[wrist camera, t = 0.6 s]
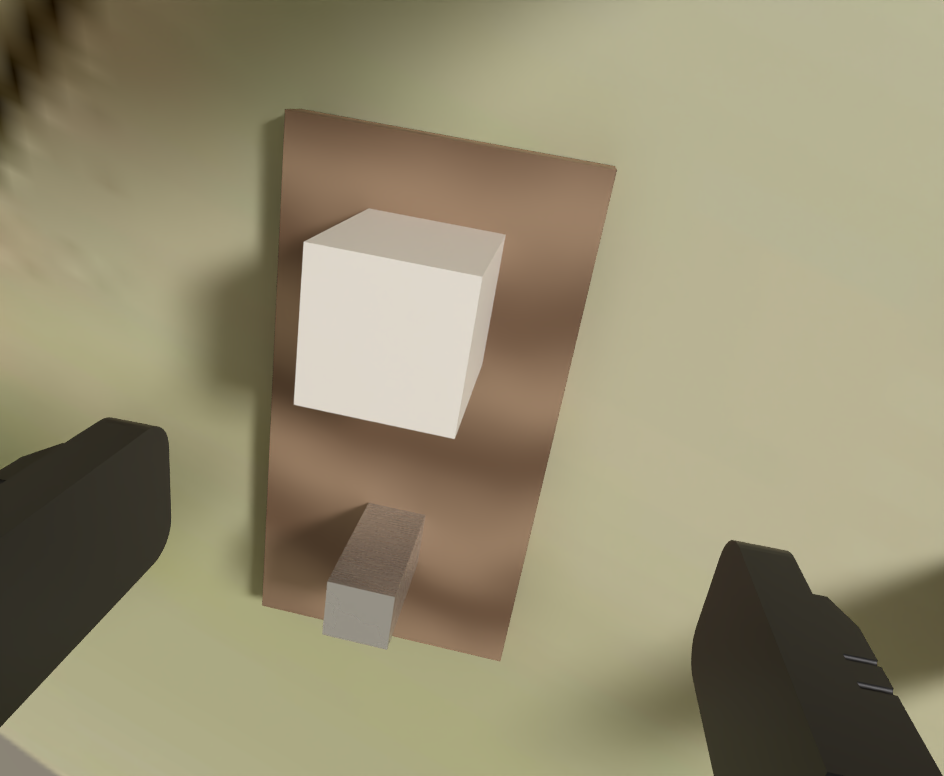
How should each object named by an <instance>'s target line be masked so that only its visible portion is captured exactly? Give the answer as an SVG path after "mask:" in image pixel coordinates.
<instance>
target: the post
mask: <svg viewBox="0 0 944 776" xmlns="http://www.w3.org/2000/svg"><path fill="white" fill-rule="evenodd" d="M424 521H425V515H423V514H418V513H414V512H409V511H405V510H400V509H396V508H391V507H386V506H382V505H377V504H373V503H368V505H367V507H366V509H365V511H364V513H363V514H362V516H361V518H360V520H359V522H358V524H357V526H356V528H355V530H354V532H353V534H352V535H351V537H350V539H349V541H348V543H347V545H346V547H345V549H344V551H343V553H342V555H341V556H340V558H339V560H338V562H337V564H336V566H335V568H334V570H333V572H332V574H331V575H330V577H329V579H328V581H327V590H326V601H325V612H324V622H323V633H322V634H323V635H328V636H332V637H336V638H340V639H345V640H349V641H353V642H357V643H361V644H366V645H370V646H374V647H378V648H383V649H388V646H389V643H390V640H391V637H392V634H393V632H394V629H395V626H396V623H397V620H398V617H399V615H400V612H401V609H402V606H403V603H404V600H405V597H406V595H407V592H408V589H409V586H410V583H411V580H412V577H413V575H414V572H415V569H416V566H417V563H418V558H419V552H420V546H421V539H422V533H423V527H424Z"/></svg>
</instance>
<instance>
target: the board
mask: <svg viewBox="0 0 944 776" xmlns="http://www.w3.org/2000/svg"><path fill="white" fill-rule="evenodd" d="M616 172H617V169H616V168H615V166H611V165H605V164H600V163H594V162H589V161H583V160H578V159H572V158H567V157H561V156H556V155H550V154H545V153H539V152H534V151H529V150H523V149H518V148H512V147H507V146H501V145H496V144H490V143H485V142H479V141H474V140H468V139H463V138H457V137H452V136H446V135H441V134H435V133H430V132H424V131H419V130H413V129H408V128H403V127H397V126H392V125H386V124H381V123H375V122H370V121H364V120H359V119H353V118H348V117H342V116H337V115H331V114H326V113H320V112H315V111H309V110H304V109H285V123H284V145H283V166H282V188H281V210H280V231H279V253H278V275H277V296H276V318H275V340H274V361H273V383H272V405H271V426H270V448H269V470H268V491H267V513H266V535H265V556H264V578H263V600H262V605H263V606H267V607H271V608H275V609H280V610H284V611H288V612H292V613H297V614H301V615H305V616H309V617H314V618H318V619H322V620H324V612H325V601H326V590H327V581H328V579H329V577H330V575H331V574H332V572H333V570H334V568H335V566H336V564H337V562H338V560H339V558H340V556H341V555H342V553H343V551H344V549H345V547H346V545H347V543H348V541H349V539H350V537H351V535H352V534H353V532H354V530H355V528H356V526H357V524H358V522H359V520H360V518H361V516H362V514H363V513H364V511H365V509H366V507H367V505H368V503H373V504H377V505H382V506H386V507H391V508H396V509H400V510H405V511H409V512H414V513H418V514H423V515H425V521H424V527H423V533H422V539H421V546H420V552H419V558H418V563H417V566H416V569H415V572H414V575H413V577H412V580H411V583H410V586H409V589H408V592H407V595H406V597H405V600H404V603H403V606H402V609H401V612H400V615H399V617H398V620H397V623H396V626H395V629H394V632H393V634H392V636H395V637H399V638H403V639H407V640H412V641H416V642H420V643H424V644H429V645H433V646H437V647H441V648H446V649H450V650H454V651H458V652H463V653H467V654H471V655H475V656H480V657H484V658H488V659H492V660H497V661H500V660H501V656H502V652H503V648H504V643H505V639H506V635H507V631H508V627H509V622H510V618H511V614H512V610H513V605H514V601H515V597H516V593H517V589H518V584H519V580H520V576H521V572H522V568H523V563H524V559H525V555H526V551H527V546H528V542H529V538H530V534H531V530H532V525H533V521H534V517H535V513H536V509H537V504H538V500H539V496H540V492H541V488H542V483H543V479H544V475H545V471H546V466H547V462H548V458H549V454H550V450H551V445H552V441H553V437H554V433H555V429H556V424H557V420H558V416H559V412H560V407H561V403H562V399H563V395H564V391H565V386H566V382H567V378H568V374H569V370H570V365H571V361H572V357H573V353H574V349H575V344H576V340H577V336H578V332H579V327H580V323H581V319H582V315H583V311H584V306H585V302H586V298H587V294H588V290H589V285H590V281H591V277H592V273H593V268H594V264H595V260H596V256H597V252H598V247H599V243H600V239H601V235H602V231H603V226H604V222H605V218H606V214H607V209H608V205H609V201H610V197H611V193H612V188H613V184H614V180H615V176H616ZM369 208H370V209H375V210H380V211H385V212H390V213H396V214H401V215H406V216H411V217H417V218H422V219H427V220H432V221H437V222H443V223H448V224H453V225H458V226H464V227H469V228H474V229H479V230H484V231H490V232H495V233H500V234H505V235H506V236H505V241H504V247H503V253H502V258H501V264H500V269H499V275H498V280H497V286H496V291H495V297H494V302H493V308H492V313H491V319H490V325H489V330H488V336H487V341H486V347H485V352H484V358H483V363H482V367H481V369H480V372H479V375H478V377H477V380H476V383H475V385H474V388H473V391H472V394H471V396H470V399H469V402H468V404H467V407H466V410H465V413H464V415H463V418H462V421H461V423H460V426H459V429H458V432H457V434H456V437H455V439H452V438H447V437H443V436H438V435H433V434H429V433H424V432H419V431H414V430H410V429H405V428H400V427H396V426H391V425H386V424H382V423H377V422H372V421H368V420H363V419H358V418H354V417H349V416H344V415H340V414H335V413H330V412H325V411H321V410H316V409H311V408H307V407H302V406H297V405H294V392H295V375H296V359H297V343H298V326H299V310H300V293H301V277H302V260H303V244H304V241H306V240H308V239H310V238H312V237H314V236H316V235H318V234H320V233H322V232H324V231H326V230H327V229H329V228H331V227H333V226H335V225H337V224H339V223H341V222H343V221H345V220H347V219H349V218H351V217H353V216H355V215H357V214H359V213H361V212H363V211H365V210H367V209H369Z"/></svg>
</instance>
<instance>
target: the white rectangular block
mask: <svg viewBox="0 0 944 776" xmlns="http://www.w3.org/2000/svg"><path fill="white" fill-rule="evenodd" d="M505 236H506V235H505V234H500V233H495V232H490V231H484V230H479V229H474V228H469V227H464V226H458V225H453V224H448V223H443V222H437V221H432V220H427V219H422V218H417V217H411V216H406V215H401V214H396V213H390V212H385V211H380V210H375V209H370V208H369V209H367V210H365V211H363V212H361V213H359V214H357V215H355V216H353V217H351V218H349V219H347V220H345V221H343V222H341V223H339V224H337V225H335V226H333V227H331V228H329V229H327V230H326V231H324V232H322V233H320V234H318V235H316V236H314V237H312V238H310V239H308V240H306V241H304V244H303V260H302V277H301V293H300V310H299V326H298V343H297V359H296V375H295V392H294V405H297V406H302V407H307V408H311V409H316V410H321V411H325V412H330V413H335V414H340V415H344V416H349V417H354V418H358V419H363V420H368V421H372V422H377V423H382V424H386V425H391V426H396V427H400V428H405V429H410V430H414V431H419V432H424V433H429V434H433V435H438V436H443V437H447V438H452V439H455V437H456V434H457V432H458V429H459V426H460V423H461V421H462V418H463V415H464V413H465V410H466V407H467V404H468V402H469V399H470V396H471V394H472V391H473V388H474V385H475V383H476V380H477V377H478V375H479V372H480V369H481V367H482V363H483V358H484V352H485V347H486V341H487V336H488V330H489V325H490V319H491V313H492V308H493V302H494V297H495V291H496V286H497V280H498V275H499V269H500V264H501V258H502V253H503V247H504V241H505Z"/></svg>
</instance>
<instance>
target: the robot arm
mask: <svg viewBox="0 0 944 776" xmlns="http://www.w3.org/2000/svg"><path fill="white" fill-rule="evenodd" d="M170 526H171V499H170V467H169V442H168V437H167V435H166V432H165V431H164V430H163V429H162V428H160V427H157V426H152V425H147V424H142V423H137V422H132V421H126V420H121V419H116V418H104V419H102V420H100V421H98V422H97V423H95V424H94V425H92V426H91V427H89V428H87V429H86V430H84V431H83V432H81V433H80V434H78V435H77V436H75V437H73V438H72V439H70V440H69V441H67V442H66V443H61V444H59V445H56V446H53V447H50V448H47V449H44V450H41V451H38V452H35V453H32V454H29V455H26V456H23V457H21V458H19V459H18V460H16V461H14V462H13V463H11V464H10V465H8V466H6V467H5V468H3V469H1V470H0V727H1V726H2V725H3V724H4V723H5V722H6V721H7V719H8V718H9V717H10V716H11V715H12V714H13V713H14V712H15V711H16V710H17V709H18V708H19V707H20V706H21V705H22V703H23V702H24V701H25V700H26V699H27V698H28V697H29V696H30V695H31V694H32V693H33V692H34V691H35V690H36V689H37V688H38V686H39V685H40V684H41V683H42V682H43V681H44V680H45V679H46V678H47V677H48V676H49V675H50V674H51V673H52V672H53V670H54V669H55V668H56V667H57V666H58V665H59V664H60V663H61V662H62V661H63V660H64V659H65V658H66V657H67V656H68V655H69V653H70V652H71V651H72V650H73V649H74V648H75V647H76V646H77V645H78V644H79V643H80V642H81V641H82V640H83V639H84V637H85V636H86V635H87V634H88V633H89V632H90V631H91V630H92V629H93V628H94V627H95V626H96V625H97V624H98V623H99V622H100V620H101V619H102V618H103V617H104V616H105V615H106V614H107V613H108V612H109V611H110V610H111V609H112V608H113V607H114V606H115V605H116V603H117V602H118V601H119V600H120V599H121V598H122V597H123V596H124V595H125V594H126V593H127V592H128V591H129V590H130V589H131V587H132V586H133V585H134V584H135V583H136V582H137V581H138V580H139V579H140V578H141V577H142V576H143V575H144V574H145V573H146V572H147V570H148V569H149V568H150V567H151V566H152V565H153V564H154V563H155V562H156V560H157V559H158V558H159V556H160V554H161V553H162V551H163V549H164V547H165V544H166V542H167V539H168V535H169V531H170ZM877 661H878V660H877V659H876V657H875V655H874V653H873V652H872V650H871V648H870V646H869V644H868V643H867V641H866V639H865V637H864V636H863V634H862V632H861V630H860V629H859V627H858V626H857V625H856V624H855V623H854V622H853V621H852V620H851V619H850V618H848V617H847V616H846V615H845V614H844V613H843V612H842V611H841V610H840V609H839V608H838V607H837V606H836V605H835V604H834V603H833V602H832V601H831V600H830V599H829V598H828V597H825V596H820V595H815V594H812V592H811V590H810V588H809V586H808V584H807V582H806V580H805V578H804V576H803V574H802V572H801V570H800V568H799V566H798V564H797V562H796V560H795V558H794V557H793V555H792V554H791V553H790V552H789V551H786V550H780V549H775V548H770V547H765V546H760V545H755V544H750V543H745V542H739V541H734V540H731V541H729V542H728V543H727V544H726V545H725V547H724V549H723V551H722V553H721V556H720V558H719V561H718V564H717V567H716V570H715V573H714V576H713V579H712V582H711V585H710V588H709V591H708V594H707V597H706V600H705V603H704V606H703V609H702V612H701V615H700V617H699V620H698V623H697V626H696V630H695V634H694V638H693V645H692V656H691V666H692V676H693V682H694V686H695V691H696V695H697V700H698V705H699V709H700V714H701V719H702V723H703V728H704V732H705V737H706V742H707V746H708V751H709V755H710V760H711V765H712V769H713V774H714V776H942V774H941V772H940V770H939V768H938V767H937V765H936V763H935V761H934V760H933V758H932V756H931V754H930V753H929V751H928V749H927V747H926V745H925V744H924V742H923V740H922V738H921V737H920V735H919V733H918V731H917V729H916V728H915V726H914V724H913V722H912V721H911V719H910V717H909V715H908V714H907V712H906V710H905V708H904V706H903V705H902V703H901V701H900V699H899V698H898V696H895V695H893V687H892V685H891V683H890V682H889V680H888V678H887V676H886V675H885V673H884V671H883V669H882V668H881V667H878V666H877Z"/></svg>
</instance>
